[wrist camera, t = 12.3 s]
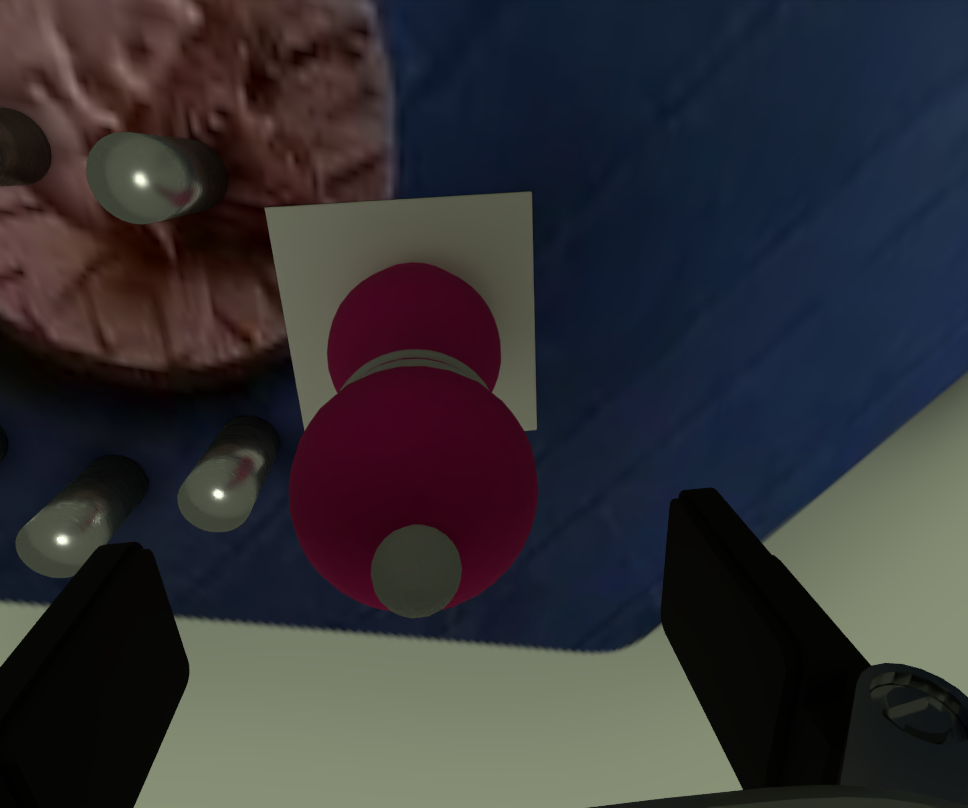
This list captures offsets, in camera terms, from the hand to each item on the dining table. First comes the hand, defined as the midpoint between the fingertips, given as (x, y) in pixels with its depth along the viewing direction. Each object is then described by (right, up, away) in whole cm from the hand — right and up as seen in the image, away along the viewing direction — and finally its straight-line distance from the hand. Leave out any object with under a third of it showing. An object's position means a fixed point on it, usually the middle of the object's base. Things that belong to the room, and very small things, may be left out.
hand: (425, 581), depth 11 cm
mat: (-2, +7, +19) cm, 21 cm away
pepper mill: (-2, +7, +19) cm, 20 cm away
